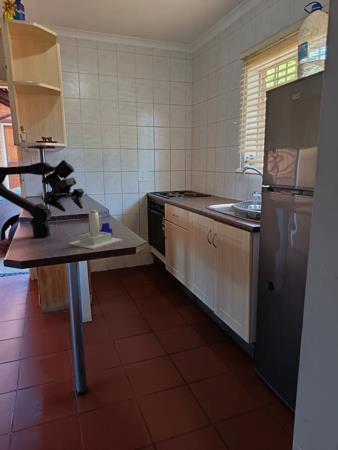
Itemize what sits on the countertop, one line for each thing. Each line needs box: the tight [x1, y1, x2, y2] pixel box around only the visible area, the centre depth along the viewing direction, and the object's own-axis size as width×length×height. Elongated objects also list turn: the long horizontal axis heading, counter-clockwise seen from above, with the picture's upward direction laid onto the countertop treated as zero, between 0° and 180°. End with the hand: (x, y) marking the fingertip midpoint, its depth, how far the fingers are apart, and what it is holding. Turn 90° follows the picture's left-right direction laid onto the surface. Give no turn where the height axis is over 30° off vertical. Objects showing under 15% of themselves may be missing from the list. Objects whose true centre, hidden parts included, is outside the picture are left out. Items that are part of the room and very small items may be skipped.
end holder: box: [68, 232, 123, 250], centre depth 131 cm, size 16×16×4 cm
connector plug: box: [88, 209, 101, 237], centre depth 130 cm, size 5×5×14 cm
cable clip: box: [88, 222, 113, 236], centre depth 148 cm, size 12×4×6 cm, turn 50°
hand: (73, 209), depth 136 cm, fingers open, 9 cm apart
